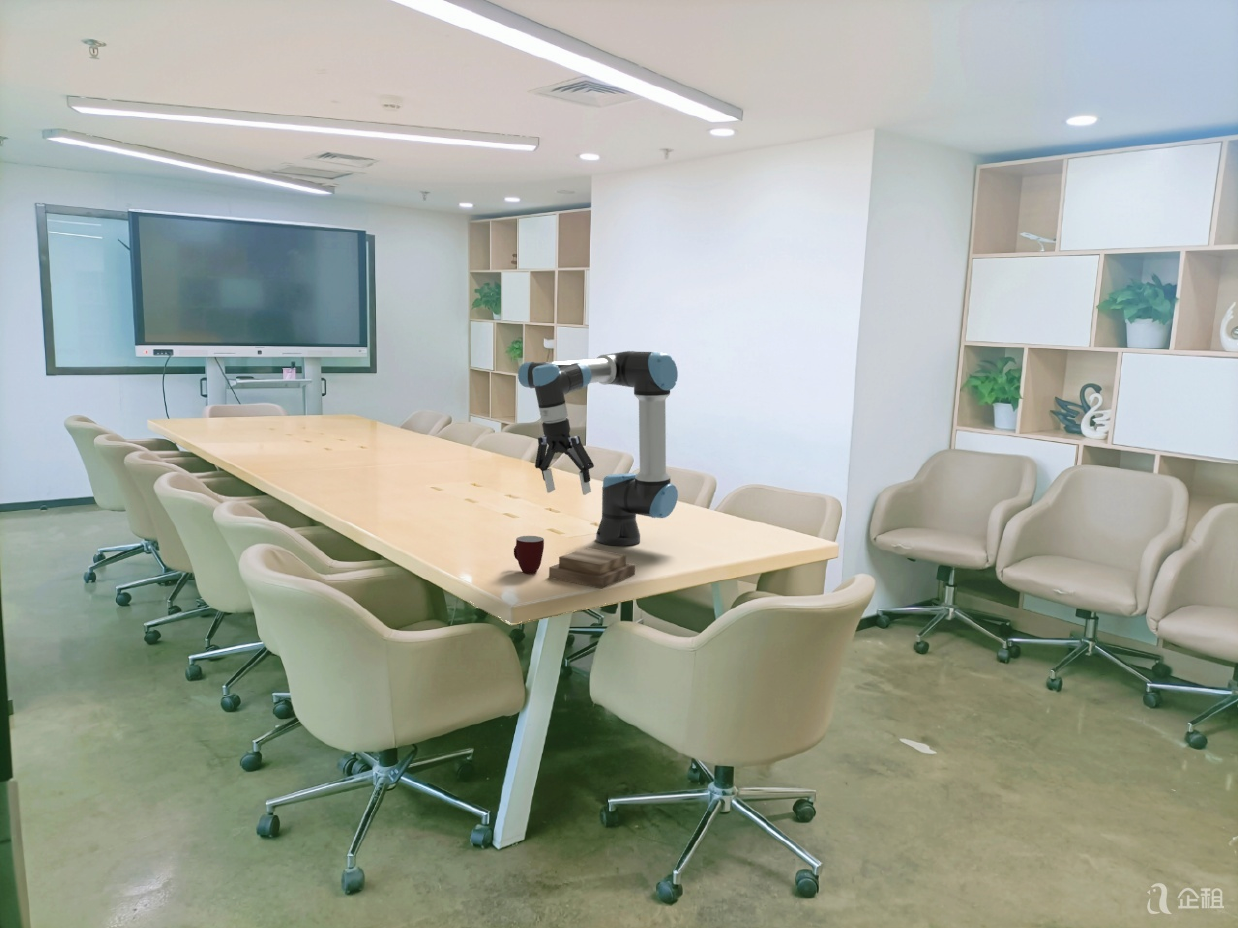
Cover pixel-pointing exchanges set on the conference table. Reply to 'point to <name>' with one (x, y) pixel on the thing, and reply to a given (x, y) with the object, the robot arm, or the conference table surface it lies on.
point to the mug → (529, 553)
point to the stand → (592, 568)
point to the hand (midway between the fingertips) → (568, 492)
